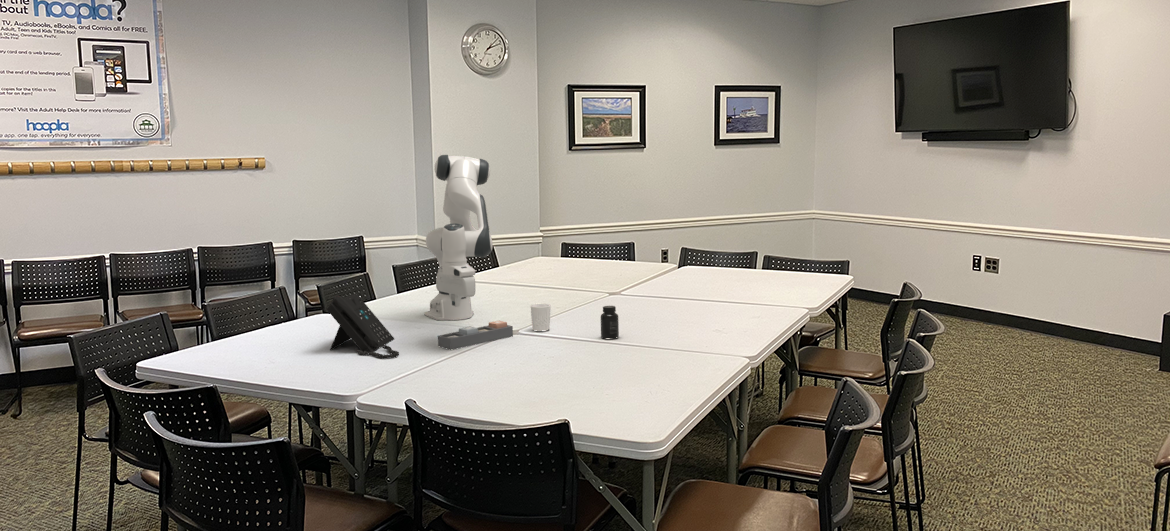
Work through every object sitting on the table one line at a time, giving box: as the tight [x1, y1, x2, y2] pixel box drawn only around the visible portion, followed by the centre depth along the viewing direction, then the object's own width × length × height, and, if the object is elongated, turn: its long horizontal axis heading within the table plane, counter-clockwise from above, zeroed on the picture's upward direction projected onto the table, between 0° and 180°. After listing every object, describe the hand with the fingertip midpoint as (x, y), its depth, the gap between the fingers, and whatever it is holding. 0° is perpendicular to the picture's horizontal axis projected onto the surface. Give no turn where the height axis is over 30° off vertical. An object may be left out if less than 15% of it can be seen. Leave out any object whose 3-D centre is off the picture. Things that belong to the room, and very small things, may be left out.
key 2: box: [458, 325, 478, 335], centre depth 313 cm, size 5×5×3 cm
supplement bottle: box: [600, 305, 620, 339], centre depth 318 cm, size 7×7×12 cm
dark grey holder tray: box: [437, 324, 514, 351], centre depth 315 cm, size 8×29×4 cm, turn 135°
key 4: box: [488, 320, 508, 329], centre depth 322 cm, size 5×5×3 cm
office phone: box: [326, 293, 400, 359], centre depth 305 cm, size 29×28×20 cm
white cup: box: [530, 303, 552, 331], centre depth 332 cm, size 8×8×10 cm
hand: (455, 306), depth 308 cm, fingers closed
